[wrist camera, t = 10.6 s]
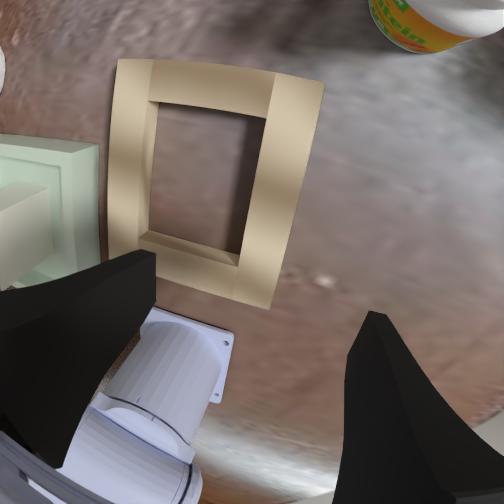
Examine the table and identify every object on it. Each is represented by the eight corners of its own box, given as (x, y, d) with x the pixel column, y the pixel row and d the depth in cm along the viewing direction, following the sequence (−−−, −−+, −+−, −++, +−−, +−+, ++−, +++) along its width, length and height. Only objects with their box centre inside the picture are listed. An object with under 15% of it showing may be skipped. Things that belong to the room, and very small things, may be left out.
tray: (104, 303, 27) (85, 323, 24) (9, 260, 28) (-9, 273, 26) (99, 144, 20) (71, 153, 17) (-5, 133, 21) (-29, 140, 19)
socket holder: (272, 297, 22) (268, 309, 21) (119, 251, 24) (109, 260, 22) (325, 84, 15) (325, 83, 14) (131, 60, 17) (118, 59, 16)
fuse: (54, 252, 25) (-9, 300, 18) (27, 241, 25) (-33, 283, 18) (48, 187, 22) (-28, 226, 15) (20, 180, 22) (-50, 215, 15)
